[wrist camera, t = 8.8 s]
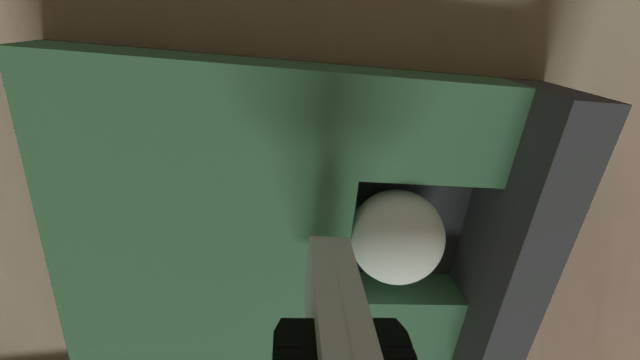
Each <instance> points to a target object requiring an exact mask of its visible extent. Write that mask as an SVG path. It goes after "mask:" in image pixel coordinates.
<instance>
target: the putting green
mask: <svg viewBox="0 0 640 360" xmlns="http://www.w3.org/2000/svg"><path fill="white" fill-rule="evenodd" d="M0 70H1V74H2V79H3V83H4V87H5V91H6V95H7V100H8V104H9V108H10V112H11V116H12V120H13V125H14V129H15V133H16V137H17V141H18V146H19V150H20V154H21V158H22V162H23V167H24V171H25V175H26V179H27V183H28V188H29V192H30V196H31V200H32V204H33V209H34V213H35V217H36V221H37V225H38V229H39V234H40V238H41V242H42V246H43V250H44V255H45V259H46V263H47V267H48V271H49V276H50V280H51V284H52V288H53V292H54V297H55V301H56V305H57V309H58V313H59V318H60V322H61V326H62V330H63V334H64V338H65V343H66V347H67V351H68V355H69V359H70V360H272V351H273V333H274V329H275V328H276V326H277V324H278V322H279V321H280V319H281V318H306V317H305V301H304V290H305V280H306V269H307V258H308V247H309V236H324V237H350V240H351V233H352V226H353V219H354V214H355V212H356V211H357V209H358V208H359V207H360V205H361V204H362V203H363V202H364V201H365V200H367V199H368V198H369V197H371V196H373V195H375V194H377V193H379V192H382V191H386V190H395V189H399V190H406V191H410V192H413V193H415V194H418V195H420V196H421V197H423V198H424V199H426V200H427V201H428V202H429V203H431V204H432V205H433V207H434V208H435V209H436V210H437V212H438V213H439V215H440V217H441V219H442V221H443V225H444V228H445V235H446V242H445V249H444V253H443V255H442V258H441V260H440V262H439V263H438V265H437V266H436V268H435V269H434V270H433V271H432V272H431V273H430V274H429V275H427V276H426V277H425V278H423V279H421V280H419V281H417V282H414V283H411V284H405V285H391V284H387V283H383V282H381V281H378V280H376V279H374V278H373V277H371V276H370V275H368V274H367V273H366V272H365V271H364V270H363V269H362V268H361V267H360V266H359V264H358V263H357V266H358V269H359V273H360V276H361V280H362V284H363V287H364V291H365V294H366V298H367V301H368V305H369V309H370V312H371V316H372V318H396V319H397V320H398V321H399V322H400V323H401V324H402V325H403V327H404V328H405V329H406V330H407V331H408V334H409V337H410V339H411V342H412V345H413V349H414V350H415V353H416V355H417V358H418V360H526V358H527V355H528V353H529V350H530V348H531V346H532V343H533V341H534V338H535V336H536V334H537V331H538V329H539V326H540V324H541V322H542V319H543V317H544V315H545V312H546V310H547V307H548V305H549V303H550V300H551V298H552V295H553V293H554V291H555V288H556V286H557V283H558V281H559V279H560V276H561V274H562V271H563V269H564V267H565V264H566V262H567V260H568V257H569V255H570V252H571V250H572V248H573V245H574V243H575V240H576V238H577V236H578V233H579V231H580V228H581V226H582V224H583V221H584V219H585V216H586V214H587V212H588V209H589V207H590V205H591V202H592V200H593V197H594V195H595V193H596V190H597V188H598V185H599V183H600V181H601V178H602V176H603V173H604V171H605V169H606V166H607V164H608V161H609V159H610V157H611V154H612V152H613V150H614V147H615V145H616V142H617V140H618V138H619V135H620V133H621V130H622V128H623V126H624V123H625V121H626V118H627V116H628V114H629V111H630V109H631V106H632V105H631V104H627V103H623V102H619V101H616V100H612V99H608V98H605V97H601V96H597V95H593V94H590V93H586V92H582V91H578V90H575V89H571V88H567V87H563V86H560V85H556V84H552V83H549V82H545V81H533V80H521V79H509V78H497V77H485V76H473V75H461V74H449V73H437V72H425V71H413V70H401V69H389V68H377V67H365V66H353V65H341V64H329V63H317V62H305V61H293V60H281V59H269V58H257V57H245V56H233V55H221V54H209V53H197V52H185V51H173V50H161V49H149V48H137V47H125V46H113V45H101V44H89V43H77V42H65V41H53V40H34V41H25V42H16V43H7V44H0ZM356 262H357V261H356Z"/></svg>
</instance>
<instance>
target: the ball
mask: <svg viewBox="0 0 640 360" xmlns="http://www.w3.org/2000/svg"><path fill="white" fill-rule="evenodd" d="M350 241H351V244H352V248H353V252H354V255H355V259H356V261H357V263H358V264H359V266H360V267H361V268H362V269H363V270H364V271H365V272H366V273H367V274H368V275H370V276H371V277H373V278H374V279H376V280H378V281H381V282H383V283H387V284H391V285H405V284H411V283H414V282H417V281H419V280H421V279H423V278H425V277H426V276H427V275H429V274H430V273H431V272H432V271H433V270H434V269H435V268H436V266H437V265H438V263H439V262H440V260H441V258H442V255H443V253H444V249H445V242H446V235H445V228H444V225H443V221H442V219H441V217H440V215H439V213H438V212H437V210H436V209H435V208H434V207H433V205H432V204H431V203H429V202H428V201H427V200H426V199H424V198H423V197H421V196H420V195H418V194H415V193H413V192H410V191H406V190H399V189H395V190H386V191H382V192H379V193H377V194H375V195H373V196H371V197H369V198H368V199H367V200H365V201H364V202H363V203H362V204H361V205H360V207H359V208H358V209H357V211H356V212H355V214H354V219H353V226H352V233H351V240H350Z"/></svg>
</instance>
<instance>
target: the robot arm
mask: <svg viewBox="0 0 640 360" xmlns="http://www.w3.org/2000/svg"><path fill="white" fill-rule="evenodd" d="M304 301H305V317H306V318H281V319H280V321H279V322H278V324H277V326H276V328H275V329H274V333H273V351H272V360H418V358H417V355H416V353H415V350H414V349H413V345H412V342H411V339H410V337H409V334H408V331H407V330H406V329H405V328H404V327H403V325H402V324H401V323H400V322H399V321H398V320H397V319H396V318H372V316H371V312H370V309H369V305H368V301H367V298H366V294H365V291H364V287H363V284H362V280H361V276H360V273H359V269H358V266H357V262H356V259H355V255H354V252H353V248H352V244H351V241H350V237H324V236H309V247H308V258H307V269H306V280H305V290H304Z"/></svg>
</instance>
